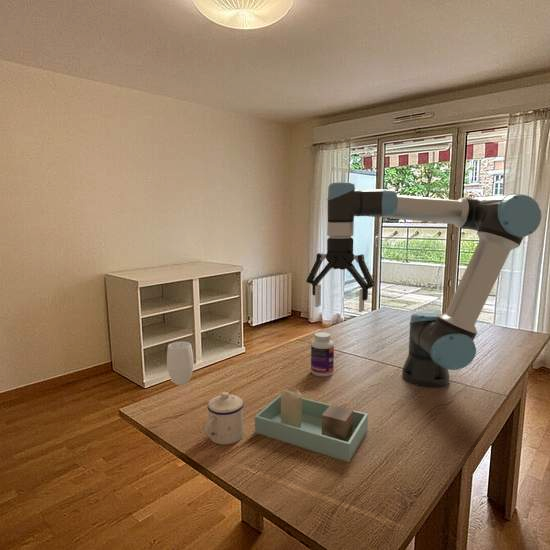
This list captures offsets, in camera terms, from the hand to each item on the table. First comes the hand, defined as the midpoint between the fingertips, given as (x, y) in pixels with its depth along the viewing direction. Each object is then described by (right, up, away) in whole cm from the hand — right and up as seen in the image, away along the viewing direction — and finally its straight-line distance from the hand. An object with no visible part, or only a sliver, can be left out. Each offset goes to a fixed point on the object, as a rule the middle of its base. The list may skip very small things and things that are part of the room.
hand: (339, 308), depth 116 cm
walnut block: (-4, -31, -18) cm, 36 cm away
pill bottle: (-2, -25, +23) cm, 34 cm away
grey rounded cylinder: (-46, -30, -5) cm, 55 cm away
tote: (-10, -31, -15) cm, 36 cm away
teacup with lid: (-33, -32, -17) cm, 49 cm away
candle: (-15, -30, -12) cm, 36 cm away
